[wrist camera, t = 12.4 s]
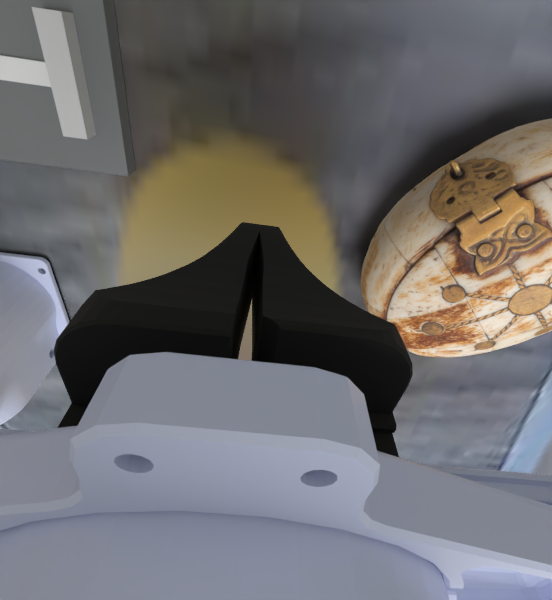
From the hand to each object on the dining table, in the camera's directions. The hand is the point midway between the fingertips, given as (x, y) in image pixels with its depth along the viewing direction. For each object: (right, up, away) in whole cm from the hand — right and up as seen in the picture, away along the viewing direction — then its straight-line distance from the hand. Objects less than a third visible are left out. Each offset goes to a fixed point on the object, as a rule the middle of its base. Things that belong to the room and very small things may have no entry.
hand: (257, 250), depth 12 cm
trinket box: (+13, +3, +11) cm, 17 cm away
